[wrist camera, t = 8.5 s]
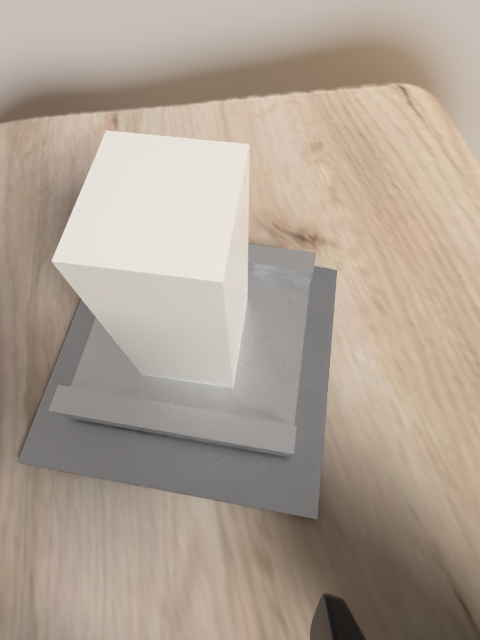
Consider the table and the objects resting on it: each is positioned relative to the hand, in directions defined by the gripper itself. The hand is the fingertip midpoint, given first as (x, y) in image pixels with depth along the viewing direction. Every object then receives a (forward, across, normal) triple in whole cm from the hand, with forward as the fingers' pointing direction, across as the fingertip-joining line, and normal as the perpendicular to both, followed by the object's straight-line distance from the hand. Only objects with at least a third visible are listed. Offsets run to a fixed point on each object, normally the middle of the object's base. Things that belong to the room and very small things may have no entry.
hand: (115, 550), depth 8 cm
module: (+13, +1, -1) cm, 13 cm away
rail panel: (+13, +1, 0) cm, 13 cm away
